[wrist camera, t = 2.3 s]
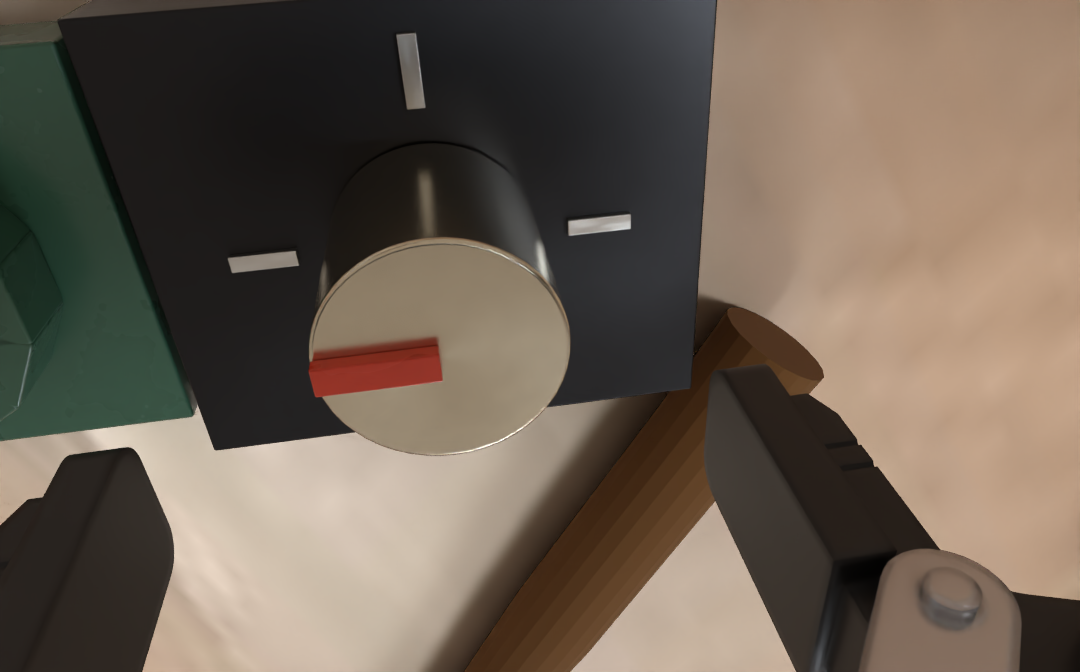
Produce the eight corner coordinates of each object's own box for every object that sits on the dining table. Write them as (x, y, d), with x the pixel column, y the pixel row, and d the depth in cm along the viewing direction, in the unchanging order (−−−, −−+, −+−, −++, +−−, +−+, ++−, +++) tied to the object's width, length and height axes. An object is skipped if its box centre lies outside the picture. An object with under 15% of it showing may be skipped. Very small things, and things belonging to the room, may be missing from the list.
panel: (675, -55, 17) (723, -33, 15) (660, 327, 23) (693, 392, 20) (108, -11, 16) (51, 21, 14) (235, 379, 22) (213, 456, 19)
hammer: (632, 248, 21) (232, 818, 33) (665, 308, 19) (219, 902, 31) (918, 394, 26) (475, 848, 38) (976, 459, 23) (481, 923, 35)
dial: (529, 131, 16) (570, 233, 12) (540, 315, 18) (578, 450, 14) (309, 153, 16) (276, 266, 12) (350, 338, 18) (334, 484, 14)
